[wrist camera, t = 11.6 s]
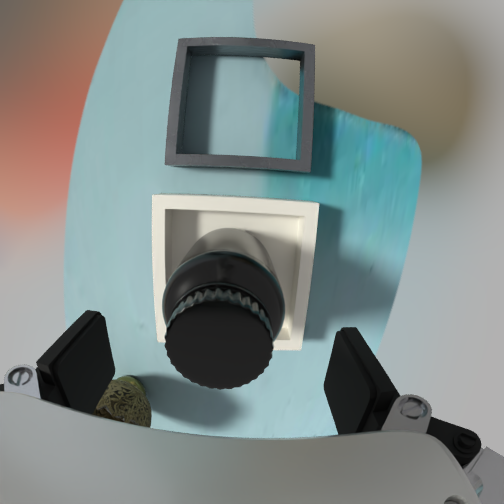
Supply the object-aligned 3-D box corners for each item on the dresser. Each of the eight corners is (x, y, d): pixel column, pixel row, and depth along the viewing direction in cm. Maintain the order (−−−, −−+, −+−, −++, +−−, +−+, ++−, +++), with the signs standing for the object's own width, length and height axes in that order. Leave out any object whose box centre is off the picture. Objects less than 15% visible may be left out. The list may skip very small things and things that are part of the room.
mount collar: (183, 48, 19) (178, 38, 17) (309, 54, 20) (314, 44, 18) (171, 166, 22) (164, 164, 20) (305, 173, 22) (310, 172, 20)
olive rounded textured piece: (177, 402, 27) (162, 457, 20) (128, 414, 28) (107, 462, 20) (137, 350, 26) (107, 401, 18) (89, 367, 26) (57, 412, 19)
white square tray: (161, 193, 22) (152, 194, 20) (311, 201, 23) (319, 203, 20) (164, 328, 25) (157, 341, 23) (296, 335, 25) (300, 350, 23)
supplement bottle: (206, 316, 24) (179, 415, 13) (175, 242, 23) (112, 300, 11) (282, 292, 24) (312, 384, 12) (256, 214, 22) (268, 248, 11)
